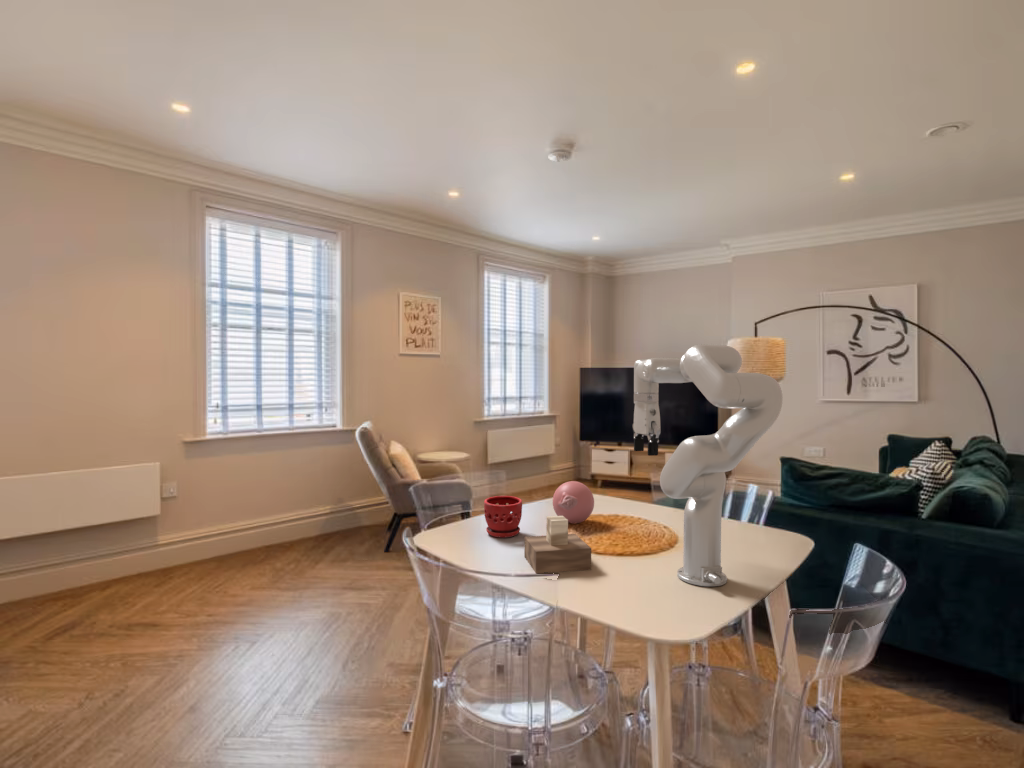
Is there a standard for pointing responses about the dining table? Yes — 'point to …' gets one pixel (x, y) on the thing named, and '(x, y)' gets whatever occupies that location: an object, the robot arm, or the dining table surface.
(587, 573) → the dining table surface
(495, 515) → the plant pot
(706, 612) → the dining table surface
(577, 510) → the balloon
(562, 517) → the birch block
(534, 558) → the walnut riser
